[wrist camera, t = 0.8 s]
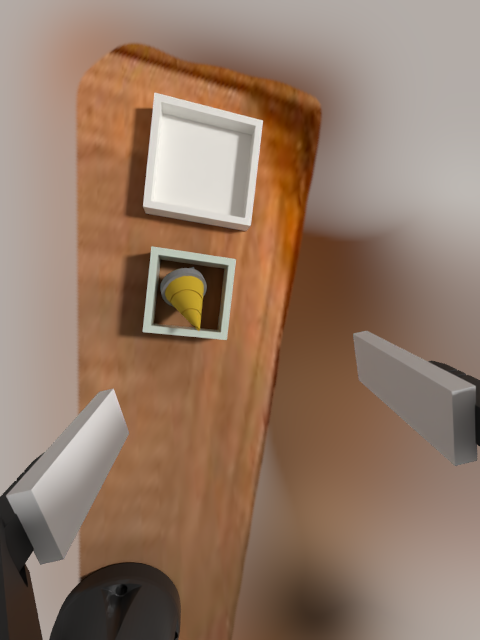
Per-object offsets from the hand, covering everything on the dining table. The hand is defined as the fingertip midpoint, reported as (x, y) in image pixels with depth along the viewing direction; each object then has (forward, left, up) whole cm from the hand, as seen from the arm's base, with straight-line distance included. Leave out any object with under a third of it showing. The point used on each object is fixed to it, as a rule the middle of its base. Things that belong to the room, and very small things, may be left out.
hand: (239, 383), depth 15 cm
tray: (+13, +17, -22) cm, 30 cm away
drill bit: (+2, +6, -22) cm, 23 cm away
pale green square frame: (+2, +6, -22) cm, 23 cm away
